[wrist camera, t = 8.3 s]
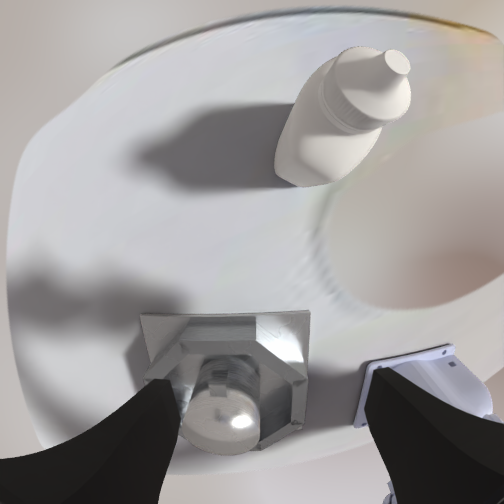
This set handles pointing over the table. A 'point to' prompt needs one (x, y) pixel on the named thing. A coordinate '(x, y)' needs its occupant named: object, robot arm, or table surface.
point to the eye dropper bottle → (341, 115)
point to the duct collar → (240, 348)
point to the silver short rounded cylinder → (224, 408)
